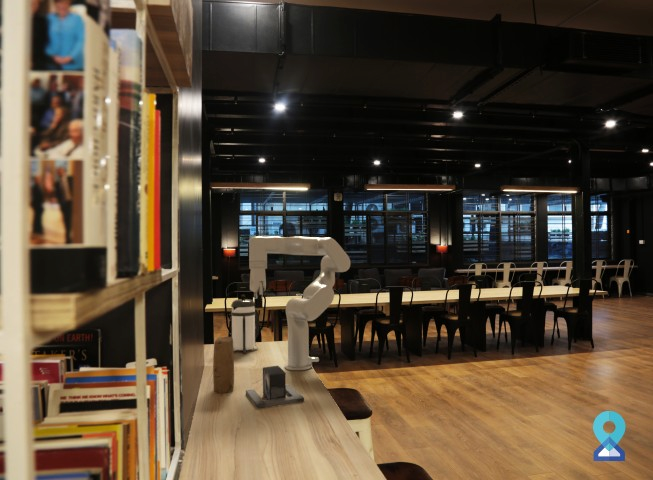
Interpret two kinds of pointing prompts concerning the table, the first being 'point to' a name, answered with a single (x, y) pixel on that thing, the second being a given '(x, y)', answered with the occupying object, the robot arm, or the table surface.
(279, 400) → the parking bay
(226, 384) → the block
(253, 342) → the coffee press
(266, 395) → the small box
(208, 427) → the table surface
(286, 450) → the table surface
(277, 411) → the table surface
